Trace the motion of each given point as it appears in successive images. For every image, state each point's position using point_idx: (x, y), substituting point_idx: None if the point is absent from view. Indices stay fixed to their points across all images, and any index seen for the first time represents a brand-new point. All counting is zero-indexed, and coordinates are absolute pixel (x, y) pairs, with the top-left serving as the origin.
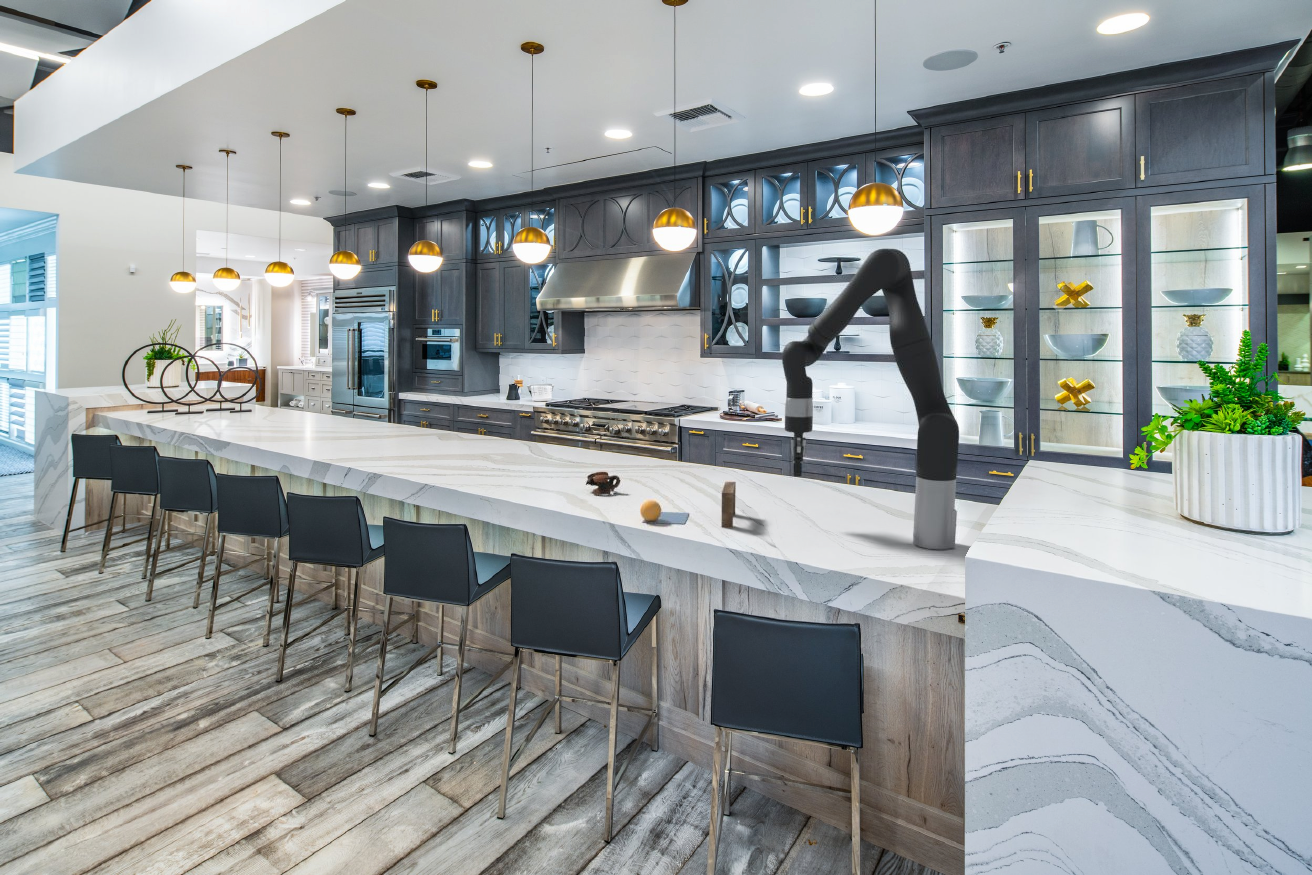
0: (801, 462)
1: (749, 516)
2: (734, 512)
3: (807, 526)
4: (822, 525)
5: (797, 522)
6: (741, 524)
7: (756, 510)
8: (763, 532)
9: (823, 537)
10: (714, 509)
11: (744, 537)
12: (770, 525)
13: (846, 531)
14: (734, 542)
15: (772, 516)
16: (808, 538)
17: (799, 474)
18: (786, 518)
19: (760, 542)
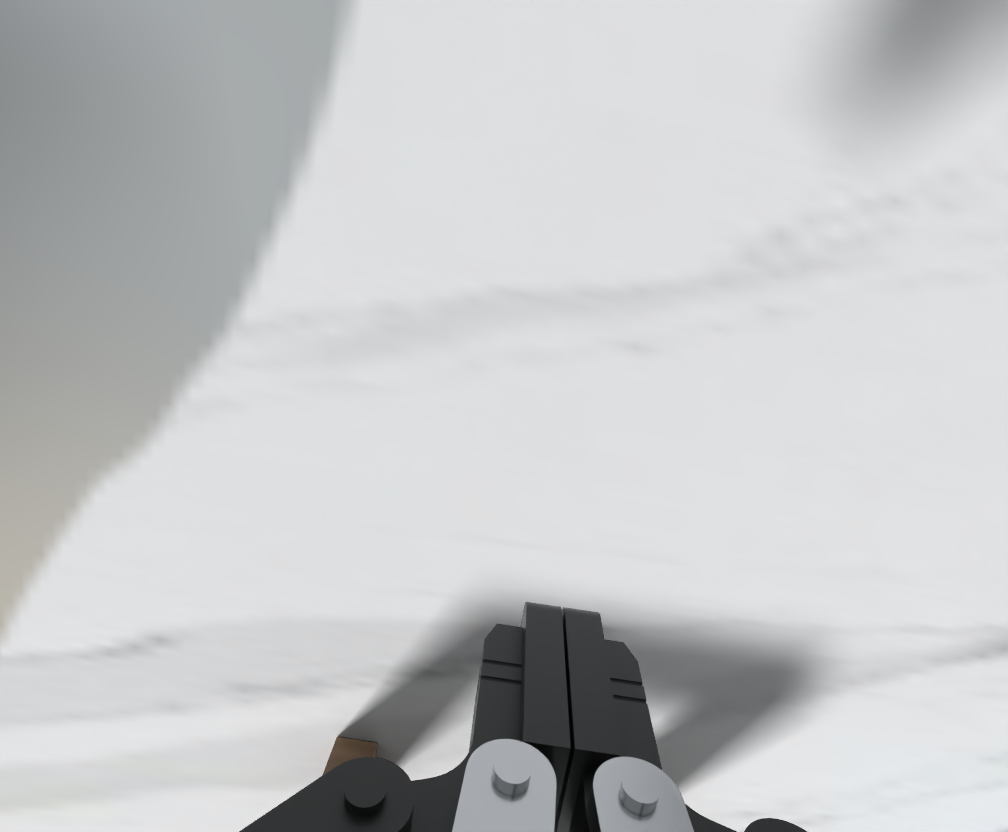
0: (671, 793)
1: (389, 672)
2: None
3: (638, 368)
4: (617, 253)
5: (531, 415)
6: None
7: (234, 616)
8: (754, 648)
9: (928, 315)
10: (244, 820)
11: (841, 750)
12: (601, 590)
13: (801, 98)
14: (925, 802)
15: (380, 546)
16: (931, 419)
17: (622, 652)
18: (427, 468)
19: (954, 690)
